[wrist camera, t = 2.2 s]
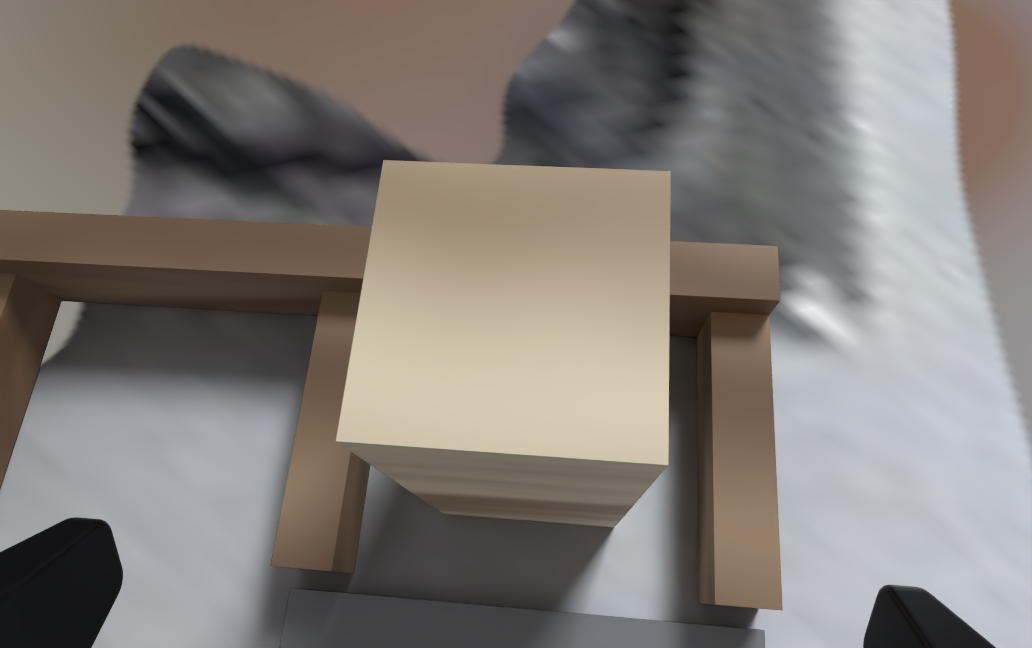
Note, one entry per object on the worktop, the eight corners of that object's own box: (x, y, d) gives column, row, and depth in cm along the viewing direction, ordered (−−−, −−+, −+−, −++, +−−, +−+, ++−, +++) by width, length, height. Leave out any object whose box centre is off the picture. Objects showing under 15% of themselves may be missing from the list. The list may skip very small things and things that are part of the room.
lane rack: (759, 608, 18) (796, 611, 15) (-68, 536, 20) (-171, 527, 17) (748, 282, 21) (777, 236, 18) (34, 246, 23) (-39, 198, 20)
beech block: (614, 527, 19) (668, 464, 10) (443, 513, 19) (336, 441, 10) (619, 362, 21) (670, 171, 11) (461, 352, 21) (383, 160, 12)
